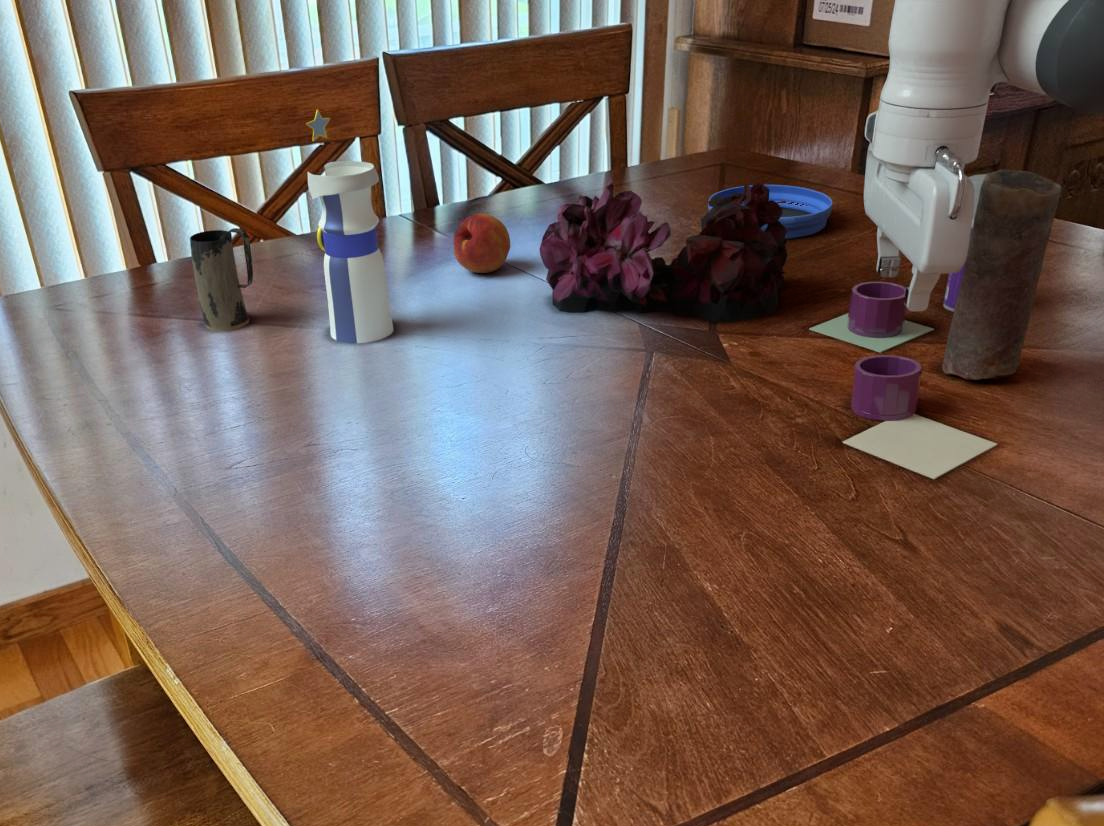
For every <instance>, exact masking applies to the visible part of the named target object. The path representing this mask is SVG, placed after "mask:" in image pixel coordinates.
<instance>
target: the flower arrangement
mask: <svg viewBox="0 0 1104 826" xmlns="http://www.w3.org/2000/svg"><path fill="white" fill-rule="evenodd" d="M752 185H753V184H752ZM765 185H766V184H763V182H760V181H758V180H757V181H756V183H755V184H754V185H753V186H752V188H751V189H750V187H749V186H750V184H748V183H747V184H745V185H743V186H744V191H743V193H734V194H732V195H730V196H728V197H716V196H715V197H714V198H713V199H711V200H710V201H709V200H708V201H707V202H708V203H709V206H711V207H713V208H712V209H711V210H710V211H709V210H708V211H707V213H706V214H705V215H704V216H703V217H702V218H701V219H700V226H701V231H700V232H699V234H694V235H692V236H688V237H687V238H686V239H685V244H686V245H685V246H684V247H682V248H681V250H680V251H679V253H678V254H677V257H675V258H673V259H672V261H671V263H670V264H667V263H666V260H665V259H664V257H663V256H660V257H659V256H658V257H657V256H656V257H655V258H652V257H651V254H650V253H649V252H651V251H653V250H655V249H658V248H661V247H662V246H663V245H664V244H665V242H666V241H667V240H668V239H669V238H670V237H671V235H672V233H671V226H670V224H669V222H668V221H666V222H663V223H661V225H659V226H658V227H657V228H656V229H655V230H653V231H651V232H649V231H650V230H651V229H652V227H653V226H654V225H655V224H656V222H655V221H654V220H650V221H649V220H648V219H649V218H648V216H647V215H644V214H643V213H642V212H641V206H642V204H643V203H642V202H643V200H642V197H641V196H639V194H637V193H636V192H634V191H632V190H626V191H621V192H618V193H617V194H616V195H615V196H614V189H615V187H614V183H613V173H611V174H610V175H609V177H608V178H607V186H606V187H605V189H604V190H603V192H602V194H601V195H600V198H599V197H598V196H597V195H594V197H593V198H591V197H589V196H587V195H581V194H579V195H578V200H577V201H576V202H574V203H566V204H562V205H558V207H557V209H558V210H557V218H556V219H557V221H556V222H553V223H551V224H549V225H548V227H547V229H546V230H545V232H544V233H543V236H542V238H541V243H540V245H539V255H540V259H541V260H542V264H543V266H544V267H545V268H546V269H547V274H546V277H545V280H546V281H547V284H548V285H549V286H550V288H551V290H552V292H551V294H552V295H551V299H552V306H554V307H555V308H556V309H557V310H558V311H559V312H563V313H568V314H585V313H588V312H594V311H600V312H601V311H602V312H611V313H619V312H620V313H622V312H624V313H625V312H635V313H638V314H639V313H641V314H645V313H650V312H669V313H673V314H677V315H683V316H687V317H688V316H689V317H692V318H693V317H694V318H697V319H701V320H705V321H710V322H713V323H734V322H741V321H746V320H752V319H757V318H759V319H760V318H762V317H765V316H768V315H770V314H772V313H773V312H774V311H775V310H777V309H778V303H779V296H778V291H779V290H780V289H781V288H783V282H784V281H783V280H784V279H785V277H784V275H783V274H786V271H783V270H784V269H783V267H784V266H785V265H786V262H787V259H788V252H787V247H786V244H787V243H788V242H787V239H785V235H786V233H787V231H788V230H787V229H785V227H784V226H783V225H782V224H781V223H780V222H779V221H778V220H779V219H780V217H781V215H782V213H783V209H782V208H781V207H780V206H779V204H778V203H777V202H775V201H773V200H770V201H769V189H768V188H767V187H766V186H765ZM743 202H744V206H743V205H741V204H742V203H743ZM765 224H768V226H767V228H766V230H765V231H763V230H761V227H762V226H763V225H765Z"/></svg>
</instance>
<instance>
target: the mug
mask: <svg viewBox="0 0 1104 826" xmlns="http://www.w3.org/2000/svg"><path fill="white" fill-rule="evenodd" d="M232 233H235V234H237V235H239V237H240V238H241V240H242V245H243V251H244V258H245V264H246V265H245V266H246V272H247V273H246V274H247V284H243V283H242V284H240V279H239V276H238V270H237V263H236V258H235V251H234V245H233V235H232ZM189 244H190V245H189V246H190V256H191V262H192V269H193V275H194V276H193V277H194V282H195V286H196V291H197V297H198V301H199V306H200V310H201V313H202V317H203V321H204V325H205V328H206V329H208V330H211V331H215V332H217V331H219V332H224V331H233V330H236V329H237V330H238V329H240V328H242V327H244V326H246V325H248V324H249V322H250V318H249V315H248V311H247V307H246V304H245V301H244V297H243V293H242V289H246V288H247V287H249V286H251V285H252V284H253V280H254V279H253V278H254V268H253V258H252V257H253V256H252V249H251V241H250V236H249V235H248V233H247V231H246V230H244V229H243V228H239V227H237V228H236V227H235V228H234V227H233V228H231V229H229V230H224V229H213V230H206V231H201V232H197V233H194V234H193V235H191V236H190V237H189Z"/></svg>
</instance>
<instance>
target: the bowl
mask: <svg viewBox="0 0 1104 826" xmlns="http://www.w3.org/2000/svg"><path fill="white" fill-rule="evenodd" d="M764 185H765V186H766V187H767V188H768V189H769V201H770V200H773V201H775V202H781V201H786V203H778V204H779V206H780V207H781V208H782V209H783V213H782V215H781V217H780V219H779V220H778V221H779V222H780V223H781V224H782V225H783V226H784V227H785V229H787V230H788V231H787V233H786V235H785V239H786V240H791V239H799V238H803V237H804V238H805V237H808V236H811V235H814V234H815V235H816V234H817V233H818V232H821V231H822V230H823V229H824V228H825V227H826V225H827V221H828V218H829V217H830V215H831V213H832V211H833V205H834V204H833V200H832V198H831V197H830V196H828V195H827V194H826V193H824V192H821V191H818V190H814V189H810V188H806V187H801V186H795V185H794V186H793V185H784V184H764ZM744 186H745V185H742V186H736V187H730V188H727V189H723V190H720V191H718V192H715V193H714V194H712V195H711V196H710V197H709V198H708V201H710V200H711V199H713V198H714V197H715V196H716V197H728V196H730V195H732V194H734V193H743V191H744ZM752 186H753V184H752V185H750V184H749V187H750V189H751V188H752ZM791 202H794V203H792V204H788V203H791ZM743 203H744V202H743ZM797 203H799V204H798V205H795V204H797ZM802 204H804V205H802ZM741 205H743V206H744V204H741ZM800 205H802V206H800ZM806 205H807V206H806ZM712 208H713V207H711V206H709V203H708V204H707V209H708V212H709V211H710V210H711V209H712ZM767 226H768V224H765V225H763V226H762V227H761V230H763V231H765V230H766V228H767Z"/></svg>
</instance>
